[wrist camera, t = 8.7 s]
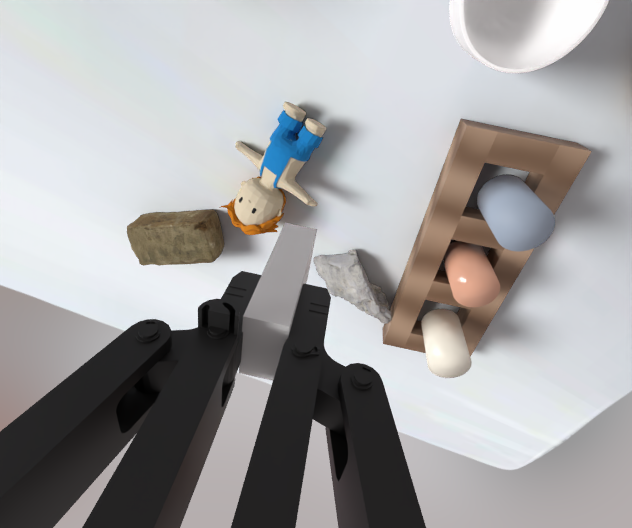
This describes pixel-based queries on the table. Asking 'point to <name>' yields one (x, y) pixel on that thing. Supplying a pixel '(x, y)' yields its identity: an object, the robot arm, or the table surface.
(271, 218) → the toy
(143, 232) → the stone block
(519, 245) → the cap slate
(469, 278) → the cap terracotta
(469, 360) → the white rounded cylinder
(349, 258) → the stone
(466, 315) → the wooden compartment tray
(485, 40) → the mug
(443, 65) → the table surface
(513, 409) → the table surface
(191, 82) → the table surface
